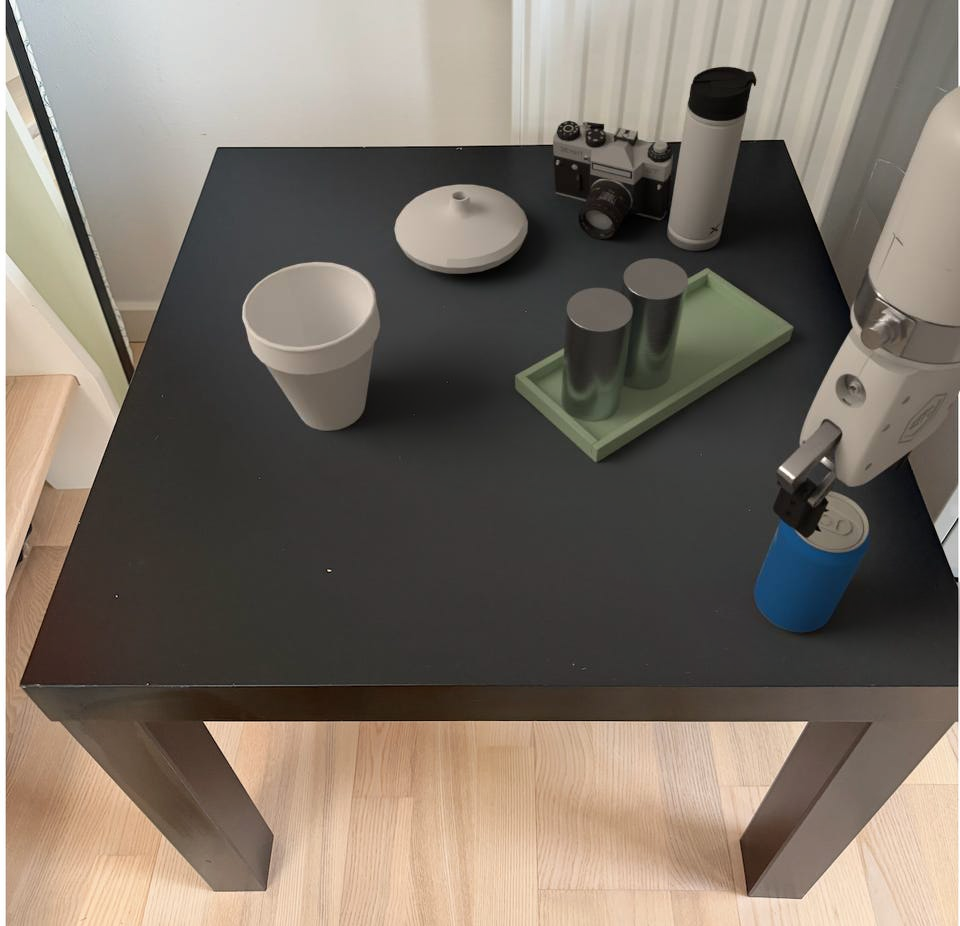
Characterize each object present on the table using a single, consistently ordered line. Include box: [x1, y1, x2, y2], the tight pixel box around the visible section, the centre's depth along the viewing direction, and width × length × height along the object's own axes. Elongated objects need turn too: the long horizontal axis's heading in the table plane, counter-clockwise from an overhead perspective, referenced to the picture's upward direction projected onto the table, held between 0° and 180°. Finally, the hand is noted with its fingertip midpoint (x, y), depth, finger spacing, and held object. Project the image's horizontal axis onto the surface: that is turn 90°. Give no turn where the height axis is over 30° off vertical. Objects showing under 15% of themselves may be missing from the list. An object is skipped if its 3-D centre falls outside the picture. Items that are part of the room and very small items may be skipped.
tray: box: [514, 267, 795, 464], centre depth 95 cm, size 13×28×2 cm, turn 127°
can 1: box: [561, 287, 633, 421], centre depth 87 cm, size 6×6×12 cm
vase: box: [393, 184, 529, 275], centre depth 106 cm, size 16×16×7 cm
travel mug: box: [666, 66, 757, 252], centre depth 101 cm, size 6×7×20 cm
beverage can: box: [753, 490, 871, 633], centre depth 72 cm, size 6×6×12 cm
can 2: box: [620, 257, 689, 390], centre depth 90 cm, size 6×6×12 cm
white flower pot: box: [241, 261, 381, 432], centre depth 88 cm, size 12×12×14 cm
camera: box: [552, 120, 674, 240], centre depth 109 cm, size 15×11×10 cm
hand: (837, 489), depth 65 cm, fingers open, 9 cm apart
